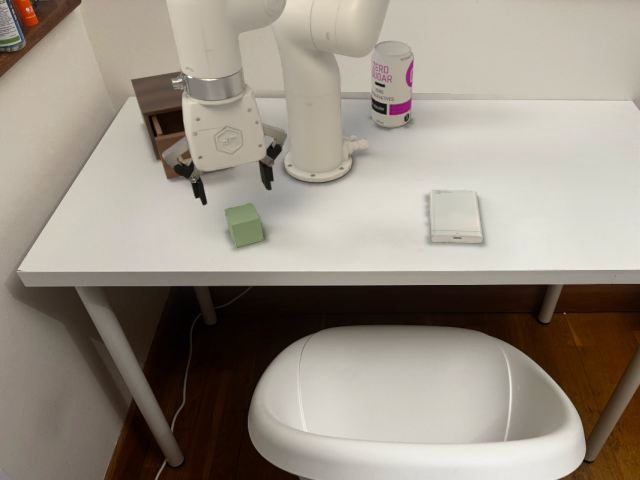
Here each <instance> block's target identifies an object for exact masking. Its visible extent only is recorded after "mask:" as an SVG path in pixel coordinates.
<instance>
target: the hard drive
mask: <svg viewBox="0 0 640 480" xmlns="http://www.w3.org/2000/svg"><path fill="white" fill-rule="evenodd" d="M428 193H429V195H428V197H429V198H428V199H429V218H430V238H431V242H432V243H433V242H434V243H451V244H452V243H455V244H456V243H457V244H458V243H459V244H482V243H483V240H484V233H483V227H482V221H481V214H480V207H479V201H478V194H477V191H476V190H466V189H465V190H464V189H463V190H462V189H460V190H459V189H430V190H429V192H428Z"/></svg>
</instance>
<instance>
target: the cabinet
mask: <svg viewBox="0 0 640 480" xmlns="http://www.w3.org/2000/svg"><path fill="white" fill-rule="evenodd" d="M180 74H181V70H179V71H174V72H168V73H161V74H156V75H149V76H144V77H138V78H132V79H130V82H131V85H132V88H133V91H134V96H135V98H136V101H137V106H138V109H139V112H140V115H141V118H142V121H143V124H144V127H145V130H146V133H147V137H148V139H149V142H150V145H151V148H152V150H153V154H154V156H155V159H156V161H158V160H161V157H160V154H159V151H158V147H157V144H156V141H155V137H157V136H156V133H155V130H154V126H153V123H152V120H151V115H156V114H161V113H167V112H172V111H177V110H182V94H183V92H184V90H180V89H176V90H174V88H173V84H172V80H171V79H173V78H177V77H178V76H180Z"/></svg>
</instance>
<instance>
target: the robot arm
mask: <svg viewBox="0 0 640 480" xmlns="http://www.w3.org/2000/svg"><path fill="white" fill-rule="evenodd" d="M390 2H391V0H165V4H166V7H167V12H168V16H169V21H170V26H171V31H172V34H173V39H174V43H175V48H176V51H177V56H178V61H179V65H180V69H179V71H181V74H180V76H178V77H177V78H173V79H171V80H172V84H173V88H174V90H176V89H180V90H184V92H183V94H182V110H183V121H184V128H185V134H186V136H185V137H183V138H182V139H181V140H179V141H178V142H177V143H175V144H174V145H173V146H171V147H170V148H168V149H167V150H166V151H164V152H163V153H162V156H163V159H164V161H165V162H166V163H167V164H168V165H169V166H170V167H171V168H172V169H173V170H174V171H175V172H176V173H177V174H179V175H181V177H182V178H185V179H186V180H188V181H189V182H190V185H191V190H192V194H193V196H194V199H199V200H200V203H201V205H202V206H207V205H208V199H207V196H206V190H205V187H204V183H203V180H202V177H201V176H202V175H203V172H206V173H207V172H213V171H219V170H223V169H224V170H225V169H228V168H233V167H238V166H243V165H247V164H252V163H256V162H258V165H259V166H258V167H259V173H260V181H261V183H262V185H263V187H264V188H265V190H266V191H269V192H270V191H272V190H273V189H272V182H274V181H275V179H274V171H273V170H274V169H273V166H274V165H275V160H276V159H278V157H279V155H280V154H281V153H282V151H283V147H284V145H285V143H286V140H287V137H288V134H287V132H286V131H285V130H284V129H283V128H281V127H277V126H274V125H269V124H266V123H263V122H262V117H261V114H260V110H259V106H258V103H257V99H256V96H255V94H254V91H253V89H252V88H251V86H250V85H249V84H248V83H246V80H245V74H244V68H243V60H242V54H241V53H242V52H241V46H240V41H239V36H240V34H242V33H246V32H249V31H255V30H259V29H263V28H266V27H269V26H271V30H272V33H273V36H274V40H275V43H276V46H277V49H278V54H279V59H280V65H281V71H282V80H283V88H284V97H285V98H284V99H285V107H286V115H287V123H288V124H287V125H288V133H289V142H290V143H289V144H290V150H289V151H288V152H287V153H286V155H285V156H284V158H283V163H284V169H285V171H286V172H287V173H288V174H289V175H290V176H291V177H293V178H295V179H296V180H298V181H303V182H308V183H327V182H330V181H334V180H337V179H339V178H341V177H343V176H345V175H346V174H347V173H348V172H349V171H350V170H351V168H352V165H353V159H352V158H353V157H352V154H353V153H354V152H357V151H358V152H359V151H363V150H366V149H368V148H369V144H368V143H369V142H368V141H367V138H361V139H357V137H356V135H354V134H353V135H349V136H346V137H344V136H343V112H342V111H343V109H342V88H341V87H342V86H341V84H342V81H341V71H340V67H339V64H338V61H337V58H336V56H335V55H339V56H344V57H348V58H355V59H356V58H360V59H361V58H364V57H368V55H370V54H372V53H373V51H374V49H375V46H376V45H377V44H378V41H379V38H380V35H381V32H382V29H383V26H384V24H385V23H384V22H385V19H386V15H387V12H388V9H389V5H390ZM266 137H269V138H273V141H272V142H270V144H269V145H268V147H267V143H266V139H265V138H266ZM187 150H189V152H190V154H191V157H192V159H191V160H190V162H189V163H188V165H186V164H184V163H182V162H180V161H178V160H177V158H178V157H179V156H181V155H182V154H183V153H185V152H186V151H187Z"/></svg>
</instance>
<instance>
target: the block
mask: <svg viewBox="0 0 640 480" xmlns="http://www.w3.org/2000/svg"><path fill="white" fill-rule="evenodd" d="M224 215H225V219H226V224H227V228H228V231H229V234H230V236H231V239H232V241H233V243H234V246H235V248H240V247H244V246H248V245H251V244H255V243H259V242H262V241H264V240H265V239H264V233H263V226H262V220H261V216H260V214H259V213H258V211H257V209H256V207H255V205H254V203H253V202H248V203H244V204H239V205H236V206H232V207H228V208H224Z"/></svg>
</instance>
